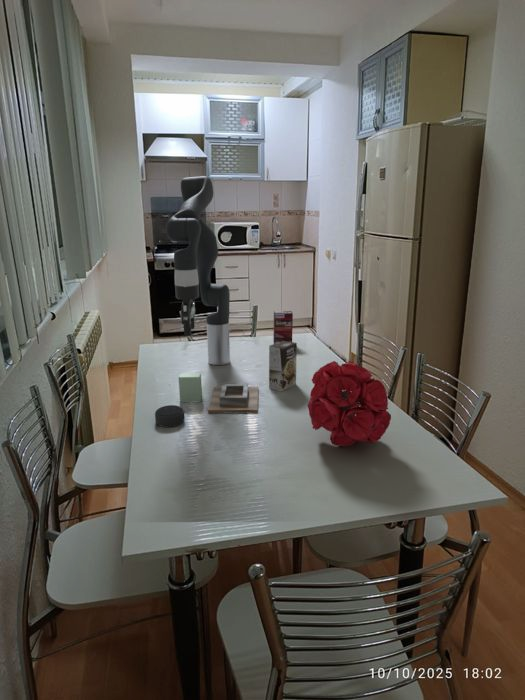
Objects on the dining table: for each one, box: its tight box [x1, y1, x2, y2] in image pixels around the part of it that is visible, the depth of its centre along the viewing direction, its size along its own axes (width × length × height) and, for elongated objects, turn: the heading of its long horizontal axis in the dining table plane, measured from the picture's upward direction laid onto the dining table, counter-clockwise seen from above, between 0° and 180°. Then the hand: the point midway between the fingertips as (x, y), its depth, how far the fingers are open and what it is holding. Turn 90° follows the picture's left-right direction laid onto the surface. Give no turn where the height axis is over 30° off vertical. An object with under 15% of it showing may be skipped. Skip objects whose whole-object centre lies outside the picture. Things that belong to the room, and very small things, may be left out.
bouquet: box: [307, 360, 392, 447], centre depth 134 cm, size 22×24×30 cm
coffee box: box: [268, 341, 298, 392], centre depth 172 cm, size 9×6×16 cm
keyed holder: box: [207, 383, 259, 414], centre depth 162 cm, size 20×16×4 cm
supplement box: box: [272, 310, 294, 344], centre depth 223 cm, size 9×5×16 cm, turn 95°
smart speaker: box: [154, 404, 186, 428], centre depth 147 cm, size 9×9×4 cm
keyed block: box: [178, 372, 203, 403], centre depth 162 cm, size 4×7×9 cm, turn 90°
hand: (189, 332), depth 156 cm, fingers open, 8 cm apart
